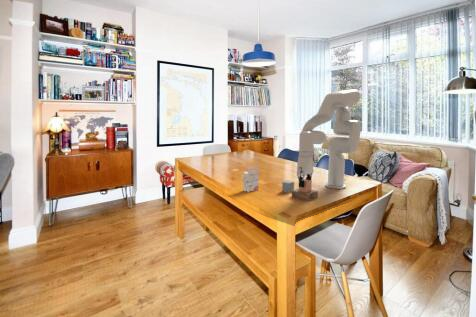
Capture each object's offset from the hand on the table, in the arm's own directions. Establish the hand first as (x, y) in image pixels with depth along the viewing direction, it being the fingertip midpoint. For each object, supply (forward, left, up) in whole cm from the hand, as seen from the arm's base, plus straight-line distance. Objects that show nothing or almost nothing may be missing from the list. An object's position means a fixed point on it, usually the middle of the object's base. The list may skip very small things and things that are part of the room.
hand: (304, 185), depth 141 cm
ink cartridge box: (+11, -31, -7) cm, 34 cm away
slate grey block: (-3, -13, -7) cm, 15 cm away
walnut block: (0, 0, -7) cm, 7 cm away
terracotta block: (0, 0, -3) cm, 3 cm away
